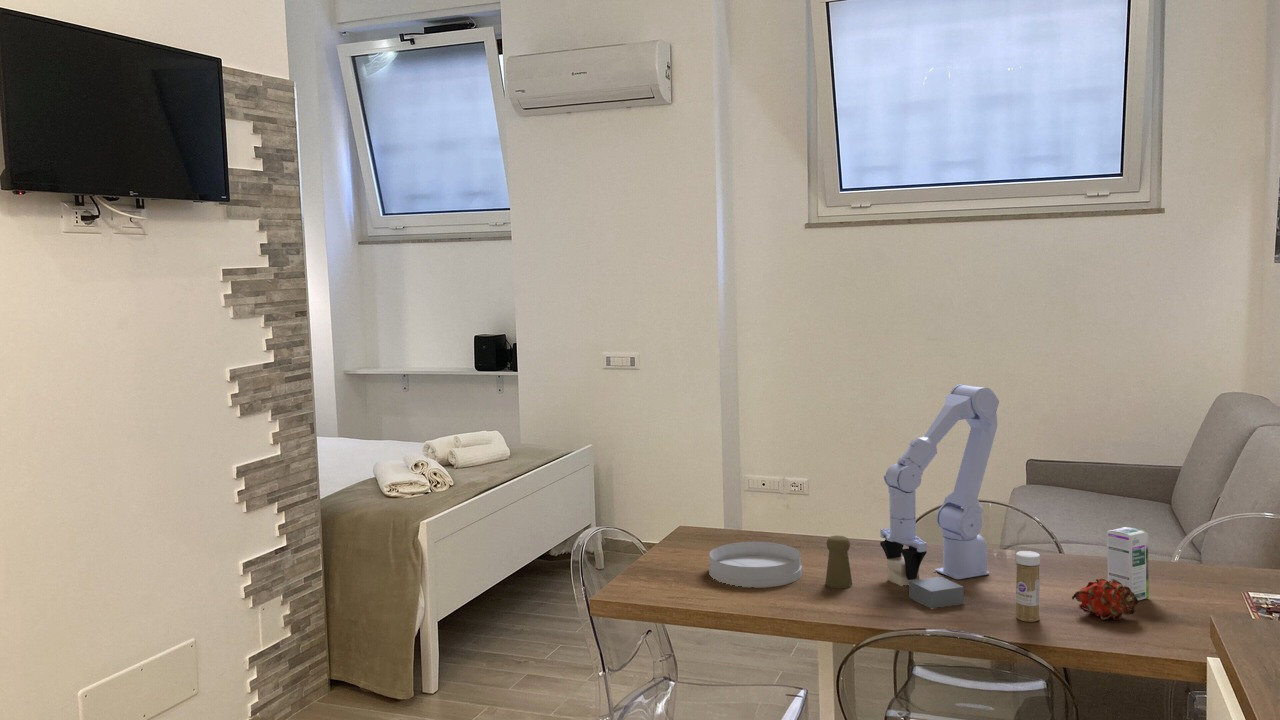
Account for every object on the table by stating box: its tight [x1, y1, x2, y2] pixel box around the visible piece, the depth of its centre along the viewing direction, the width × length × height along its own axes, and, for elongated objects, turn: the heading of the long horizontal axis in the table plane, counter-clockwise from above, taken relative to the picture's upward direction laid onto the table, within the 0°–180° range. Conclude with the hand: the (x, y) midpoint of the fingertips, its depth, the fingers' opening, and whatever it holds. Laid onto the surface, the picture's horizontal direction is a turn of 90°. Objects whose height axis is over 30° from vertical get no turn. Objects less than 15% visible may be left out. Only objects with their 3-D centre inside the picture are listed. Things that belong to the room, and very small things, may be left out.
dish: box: [708, 541, 803, 589], centre depth 227 cm, size 22×22×5 cm
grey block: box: [908, 576, 965, 609], centre depth 203 cm, size 8×8×4 cm
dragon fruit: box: [1071, 578, 1139, 621], centre depth 190 cm, size 8×8×12 cm
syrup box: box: [1106, 526, 1150, 601], centre depth 201 cm, size 6×6×14 cm
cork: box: [825, 535, 853, 589], centre depth 216 cm, size 6×6×11 cm
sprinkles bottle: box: [1015, 550, 1041, 623], centre depth 190 cm, size 5×5×13 cm
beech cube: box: [886, 556, 920, 587], centre depth 217 cm, size 5×5×5 cm
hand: (903, 575), depth 217 cm, fingers open, 6 cm apart
